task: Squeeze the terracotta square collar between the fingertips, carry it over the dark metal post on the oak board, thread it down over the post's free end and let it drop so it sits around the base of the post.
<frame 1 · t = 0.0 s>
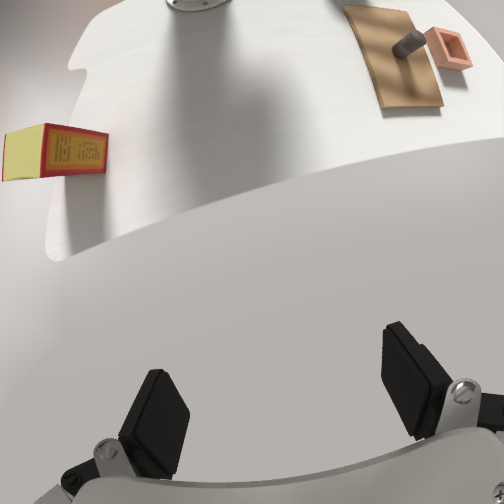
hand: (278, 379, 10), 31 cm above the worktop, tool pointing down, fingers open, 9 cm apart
collar: (443, 52, 30), on the worktop
baking soda box: (85, 154, 37), on the worktop
post board: (395, 54, 31), on the worktop
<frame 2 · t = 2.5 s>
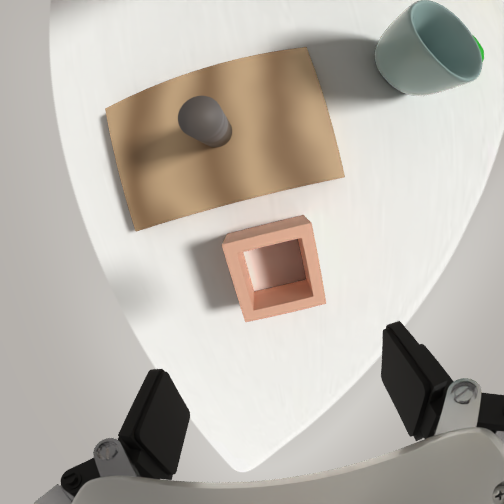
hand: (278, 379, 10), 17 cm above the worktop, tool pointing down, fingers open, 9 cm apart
collar: (274, 260, 26), on the worktop
cup: (397, 69, 20), on the worktop
post board: (218, 134, 23), on the worktop
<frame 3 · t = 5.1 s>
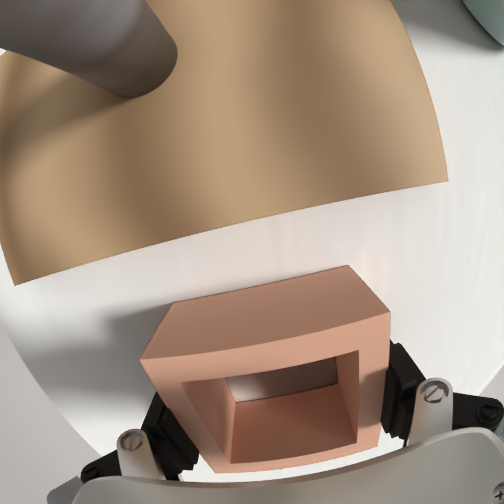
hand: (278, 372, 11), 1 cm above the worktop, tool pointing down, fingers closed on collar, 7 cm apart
collar: (276, 357, 12), on the worktop, touching gripper
cup: (482, 14, 6), on the worktop
post board: (154, 75, 8), on the worktop
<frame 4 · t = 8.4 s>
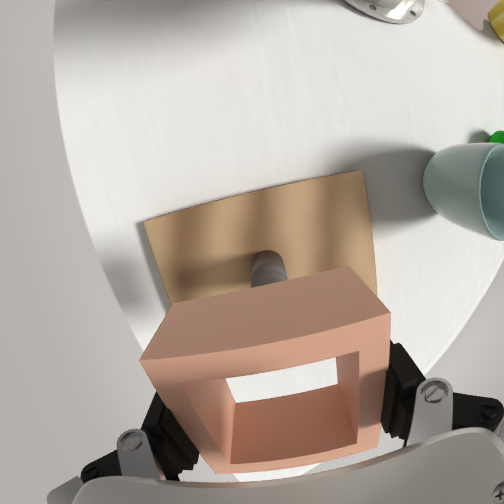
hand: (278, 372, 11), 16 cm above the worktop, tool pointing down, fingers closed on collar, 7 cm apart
polyhedron: (491, 150, 21), on the worktop
collar: (277, 357, 12), point 14 cm above the worktop, touching gripper
cup: (439, 182, 23), on the worktop
post board: (267, 260, 26), on the worktop
plant pot: (499, 29, 14), on the worktop
when the fingers open (5 cm above the worktop, at t = 11.7 s): collar drops 2 cm, resting on post board.
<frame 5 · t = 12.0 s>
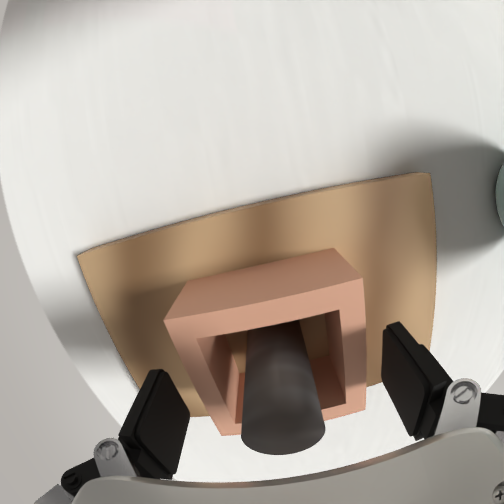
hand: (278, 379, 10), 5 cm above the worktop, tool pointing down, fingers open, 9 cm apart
collar: (275, 328, 14), point 1 cm above the worktop, touching post board
post board: (272, 315, 16), on the worktop
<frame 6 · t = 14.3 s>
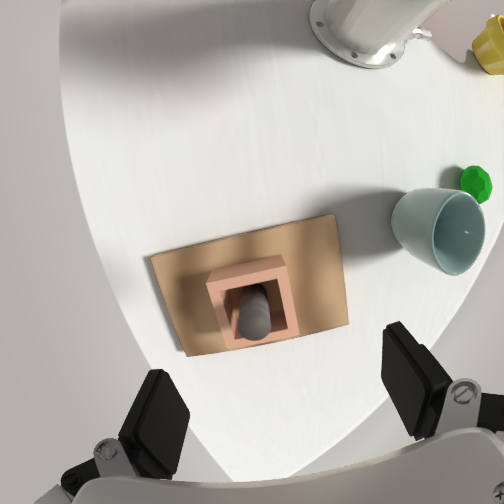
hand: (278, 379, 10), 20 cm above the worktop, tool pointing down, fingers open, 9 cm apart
polyhedron: (464, 183, 27), on the worktop
collar: (254, 294, 29), point 1 cm above the worktop, touching post board
cup: (408, 218, 29), on the worktop
post board: (254, 289, 31), on the worktop
plant pot: (483, 57, 22), on the worktop
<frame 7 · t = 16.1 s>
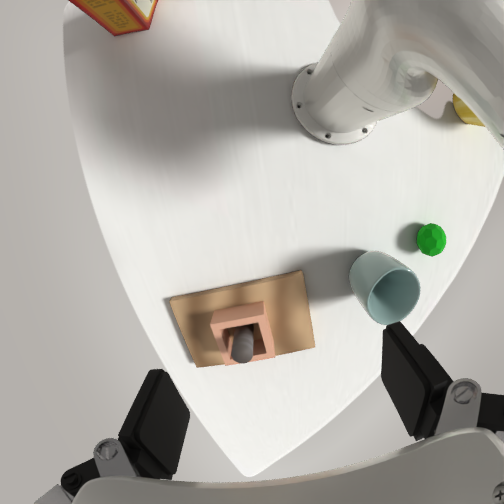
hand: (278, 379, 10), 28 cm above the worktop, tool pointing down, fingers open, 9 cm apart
polyhedron: (423, 236, 37), on the worktop
collar: (244, 327, 40), point 1 cm above the worktop, touching post board
cup: (366, 269, 39), on the worktop
baking soda box: (137, 12, 28), on the worktop
post board: (244, 322, 41), on the worktop
plant pot: (464, 106, 30), on the worktop
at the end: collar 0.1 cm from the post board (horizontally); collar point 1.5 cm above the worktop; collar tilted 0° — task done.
